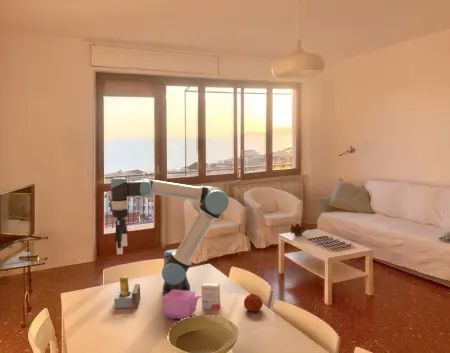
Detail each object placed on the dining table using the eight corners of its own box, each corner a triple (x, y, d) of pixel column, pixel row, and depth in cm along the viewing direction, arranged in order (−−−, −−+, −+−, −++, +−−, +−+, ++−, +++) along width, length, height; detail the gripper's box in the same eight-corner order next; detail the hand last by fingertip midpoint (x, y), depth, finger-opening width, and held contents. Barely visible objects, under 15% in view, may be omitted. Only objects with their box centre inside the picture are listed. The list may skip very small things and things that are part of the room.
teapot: (159, 318, 174) (157, 293, 173) (169, 309, 184) (168, 284, 182) (198, 324, 168) (197, 298, 166) (206, 314, 177) (205, 289, 176)
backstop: (140, 298, 197) (139, 283, 196) (137, 308, 185) (136, 293, 185) (135, 298, 197) (135, 284, 196) (132, 308, 185) (131, 293, 184)
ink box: (220, 305, 187) (220, 282, 185) (218, 309, 182) (218, 286, 181) (204, 304, 188) (203, 281, 187) (201, 308, 183) (201, 285, 182)
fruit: (242, 313, 177) (241, 297, 177) (247, 305, 186) (246, 290, 185) (259, 315, 174) (259, 299, 174) (264, 307, 183) (264, 292, 182)
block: (135, 299, 196) (135, 290, 195) (133, 307, 187) (132, 297, 186) (118, 300, 195) (117, 291, 194) (114, 308, 186) (114, 298, 185)
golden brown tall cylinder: (122, 300, 192) (120, 276, 191) (129, 300, 193) (128, 275, 191) (120, 304, 188) (119, 279, 187) (128, 303, 189) (127, 278, 187)
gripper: (117, 204, 197) (119, 243, 200) (107, 213, 173) (109, 258, 175) (131, 203, 198) (133, 242, 200) (123, 213, 173) (125, 257, 176)
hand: (122, 249), depth 188 cm, fingers open, 13 cm apart
